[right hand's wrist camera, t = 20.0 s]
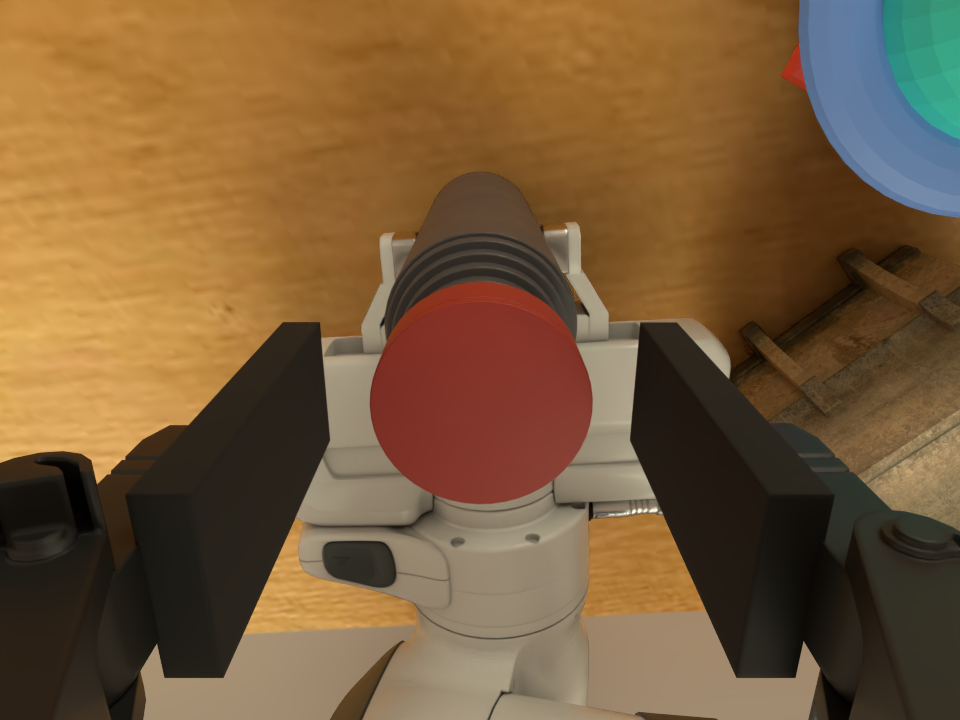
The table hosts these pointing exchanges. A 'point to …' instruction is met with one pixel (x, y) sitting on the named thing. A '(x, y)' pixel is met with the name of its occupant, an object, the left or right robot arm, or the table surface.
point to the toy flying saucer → (887, 92)
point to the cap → (481, 394)
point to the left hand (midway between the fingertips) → (478, 229)
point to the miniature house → (875, 379)
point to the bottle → (480, 249)
